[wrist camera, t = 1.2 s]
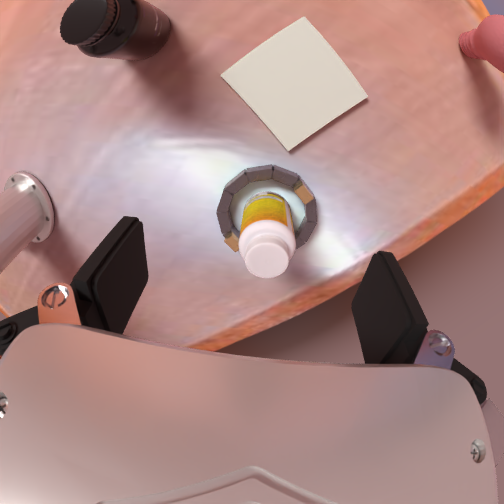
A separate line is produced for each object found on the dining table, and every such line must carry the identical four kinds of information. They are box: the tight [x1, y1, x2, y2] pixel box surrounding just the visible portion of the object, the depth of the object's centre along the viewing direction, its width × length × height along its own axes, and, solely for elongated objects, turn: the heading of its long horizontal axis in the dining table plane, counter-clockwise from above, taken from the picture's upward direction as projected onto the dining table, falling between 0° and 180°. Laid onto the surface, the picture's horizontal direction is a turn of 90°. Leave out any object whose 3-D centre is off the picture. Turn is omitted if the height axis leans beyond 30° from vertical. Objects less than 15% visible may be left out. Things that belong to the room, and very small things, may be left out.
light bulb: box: [459, 15, 504, 73], centre depth 13 cm, size 7×7×12 cm
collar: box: [217, 165, 317, 252], centre depth 32 cm, size 11×11×2 cm
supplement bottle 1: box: [60, 0, 170, 60], centre depth 16 cm, size 7×7×12 cm
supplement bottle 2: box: [239, 191, 296, 278], centre depth 29 cm, size 6×6×10 cm
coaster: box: [220, 17, 368, 151], centre depth 24 cm, size 11×11×1 cm
